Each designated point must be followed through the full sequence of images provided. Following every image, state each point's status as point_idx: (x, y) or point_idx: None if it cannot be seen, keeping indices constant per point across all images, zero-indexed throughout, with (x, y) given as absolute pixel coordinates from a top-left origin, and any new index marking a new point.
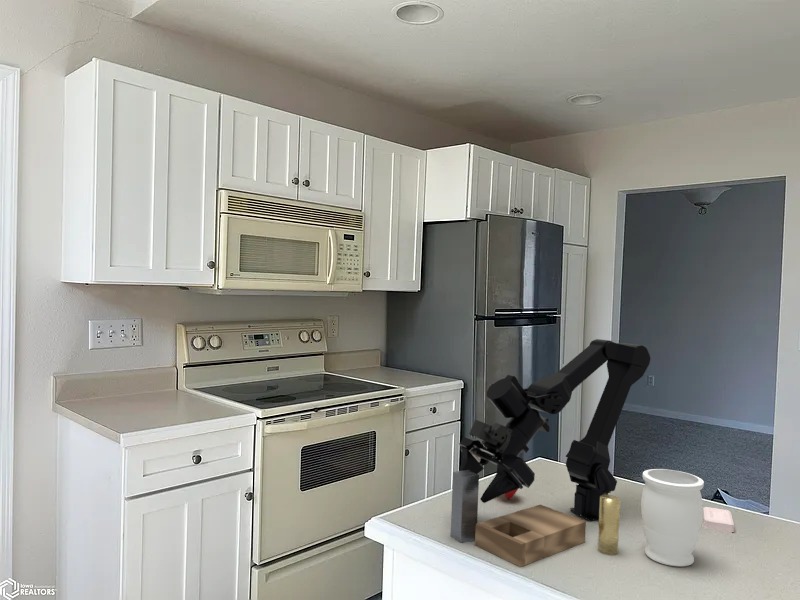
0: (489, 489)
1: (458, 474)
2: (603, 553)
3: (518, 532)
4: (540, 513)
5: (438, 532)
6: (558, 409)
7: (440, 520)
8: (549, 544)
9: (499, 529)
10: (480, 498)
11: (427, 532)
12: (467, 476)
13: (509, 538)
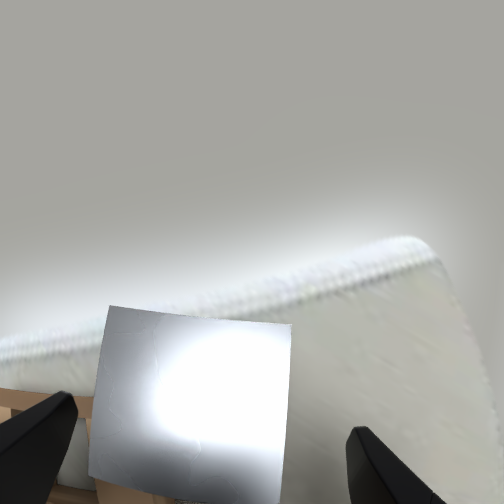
0: (8, 419)
1: (192, 320)
2: None
3: (76, 500)
4: None
5: (298, 356)
6: None
7: (379, 412)
8: None
9: None
10: (67, 393)
11: (312, 324)
12: (106, 357)
13: (9, 392)
